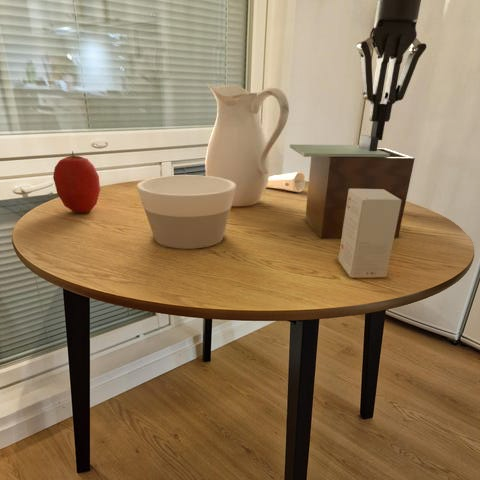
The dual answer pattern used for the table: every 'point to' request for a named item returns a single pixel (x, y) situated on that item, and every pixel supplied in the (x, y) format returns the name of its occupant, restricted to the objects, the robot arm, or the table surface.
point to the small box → (368, 232)
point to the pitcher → (242, 141)
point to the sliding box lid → (343, 149)
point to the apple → (77, 183)
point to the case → (352, 186)
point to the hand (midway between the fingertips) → (375, 139)
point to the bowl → (187, 209)
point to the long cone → (287, 182)
